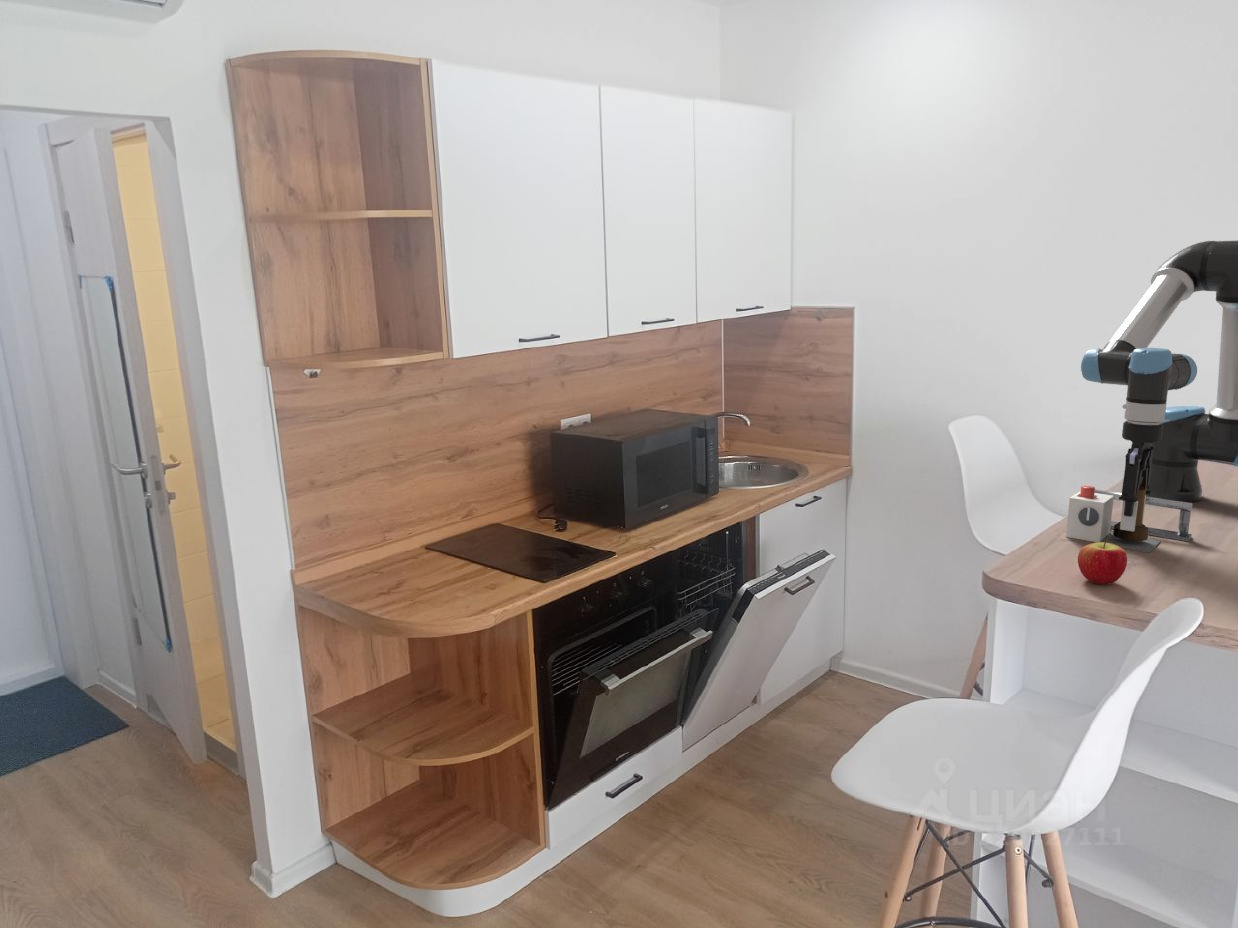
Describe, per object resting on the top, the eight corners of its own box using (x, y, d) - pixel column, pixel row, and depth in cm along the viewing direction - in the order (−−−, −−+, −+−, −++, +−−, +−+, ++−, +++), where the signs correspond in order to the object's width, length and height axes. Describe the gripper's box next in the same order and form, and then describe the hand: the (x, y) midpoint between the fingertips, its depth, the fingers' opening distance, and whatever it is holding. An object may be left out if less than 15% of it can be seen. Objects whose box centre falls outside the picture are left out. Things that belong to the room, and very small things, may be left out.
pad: (1110, 533, 214) (1111, 532, 214) (1160, 541, 208) (1160, 540, 208) (1098, 543, 207) (1098, 542, 207) (1149, 552, 201) (1149, 551, 200)
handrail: (1089, 520, 224) (1093, 487, 222) (1191, 537, 211) (1196, 501, 209) (1085, 524, 222) (1089, 490, 220) (1188, 541, 208) (1192, 505, 206)
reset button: (1081, 504, 214) (1083, 485, 213) (1094, 506, 212) (1096, 487, 211) (1077, 507, 212) (1079, 487, 211) (1090, 509, 210) (1092, 489, 209)
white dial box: (1076, 528, 218) (1080, 490, 216) (1109, 534, 214) (1113, 495, 212) (1064, 537, 211) (1068, 498, 210) (1098, 543, 207) (1102, 503, 205)
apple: (1088, 590, 179) (1094, 539, 177) (1068, 575, 187) (1073, 526, 185) (1132, 589, 179) (1138, 539, 177) (1109, 574, 187) (1115, 526, 185)
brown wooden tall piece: (1144, 534, 209) (1154, 454, 205) (1150, 542, 203) (1160, 460, 199) (1110, 531, 211) (1119, 452, 207) (1115, 539, 205) (1124, 458, 201)
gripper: (1135, 414, 211) (1123, 514, 216) (1112, 426, 197) (1100, 533, 202) (1173, 417, 206) (1161, 520, 211) (1152, 430, 192) (1139, 539, 197)
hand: (1131, 526), depth 207 cm, fingers closed on brown wooden tall piece, 6 cm apart
